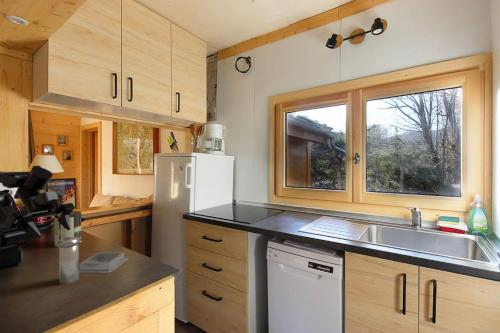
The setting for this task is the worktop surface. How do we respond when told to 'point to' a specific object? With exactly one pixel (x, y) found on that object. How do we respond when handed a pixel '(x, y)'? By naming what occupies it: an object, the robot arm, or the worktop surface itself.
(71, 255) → the lidded steel tumbler
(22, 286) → the worktop surface
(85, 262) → the collar
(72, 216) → the coffee can
